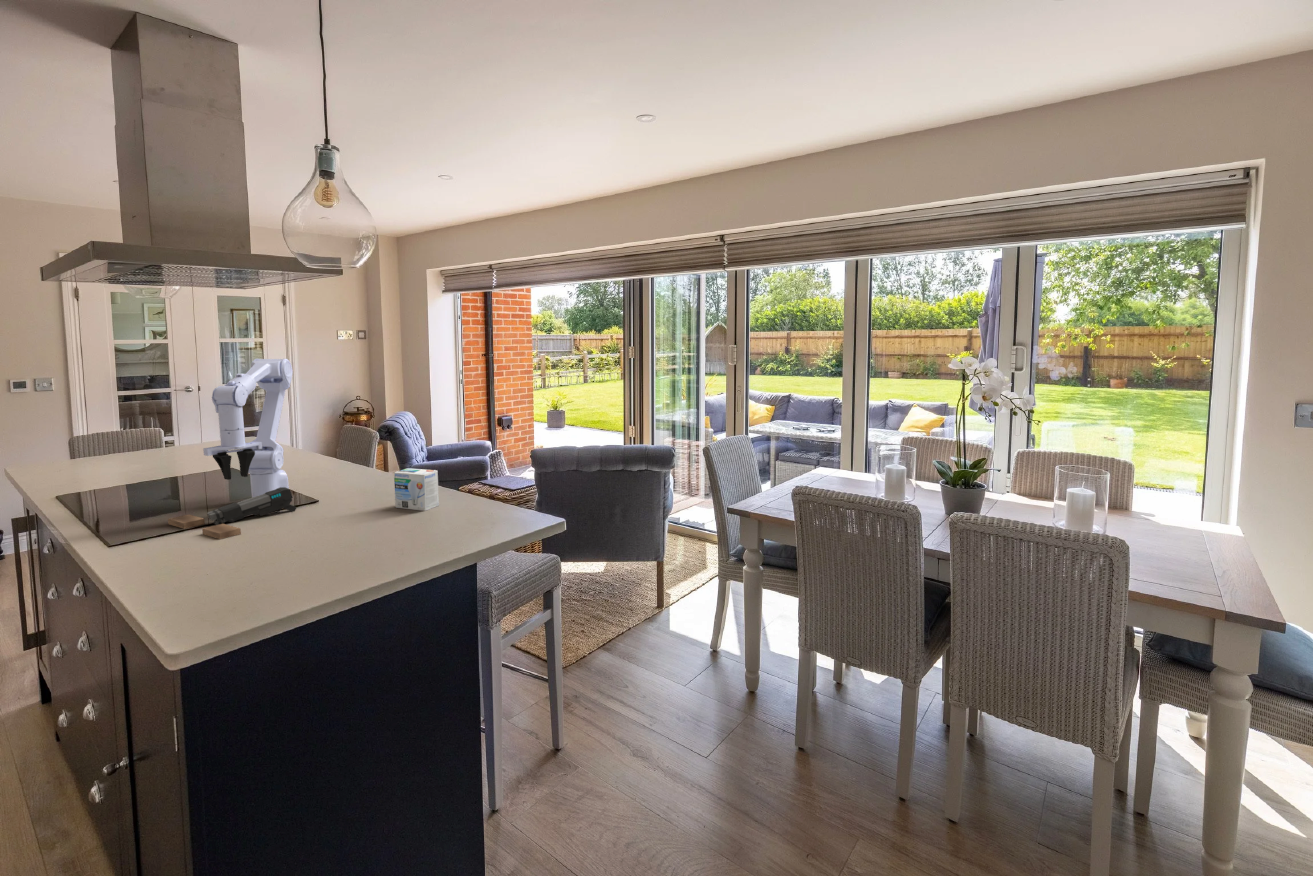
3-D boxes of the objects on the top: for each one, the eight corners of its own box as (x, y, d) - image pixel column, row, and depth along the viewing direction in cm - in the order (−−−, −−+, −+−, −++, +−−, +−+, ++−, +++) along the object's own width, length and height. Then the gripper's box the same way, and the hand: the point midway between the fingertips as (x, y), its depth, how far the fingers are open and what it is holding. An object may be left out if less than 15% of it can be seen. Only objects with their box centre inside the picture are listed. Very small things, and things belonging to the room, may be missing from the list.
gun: (301, 510, 191) (285, 480, 187) (227, 547, 179) (209, 516, 175) (295, 507, 194) (280, 477, 190) (223, 544, 182) (205, 512, 178)
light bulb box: (394, 508, 195) (392, 472, 194) (409, 502, 202) (407, 467, 200) (426, 511, 192) (424, 474, 190) (440, 505, 199) (438, 469, 197)
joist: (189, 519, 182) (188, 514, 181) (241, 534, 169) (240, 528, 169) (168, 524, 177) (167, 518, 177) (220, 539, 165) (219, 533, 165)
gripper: (211, 433, 176) (216, 484, 178) (266, 427, 188) (270, 474, 190) (197, 431, 179) (202, 481, 181) (252, 425, 192) (256, 472, 194)
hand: (236, 477), depth 186 cm, fingers open, 4 cm apart
